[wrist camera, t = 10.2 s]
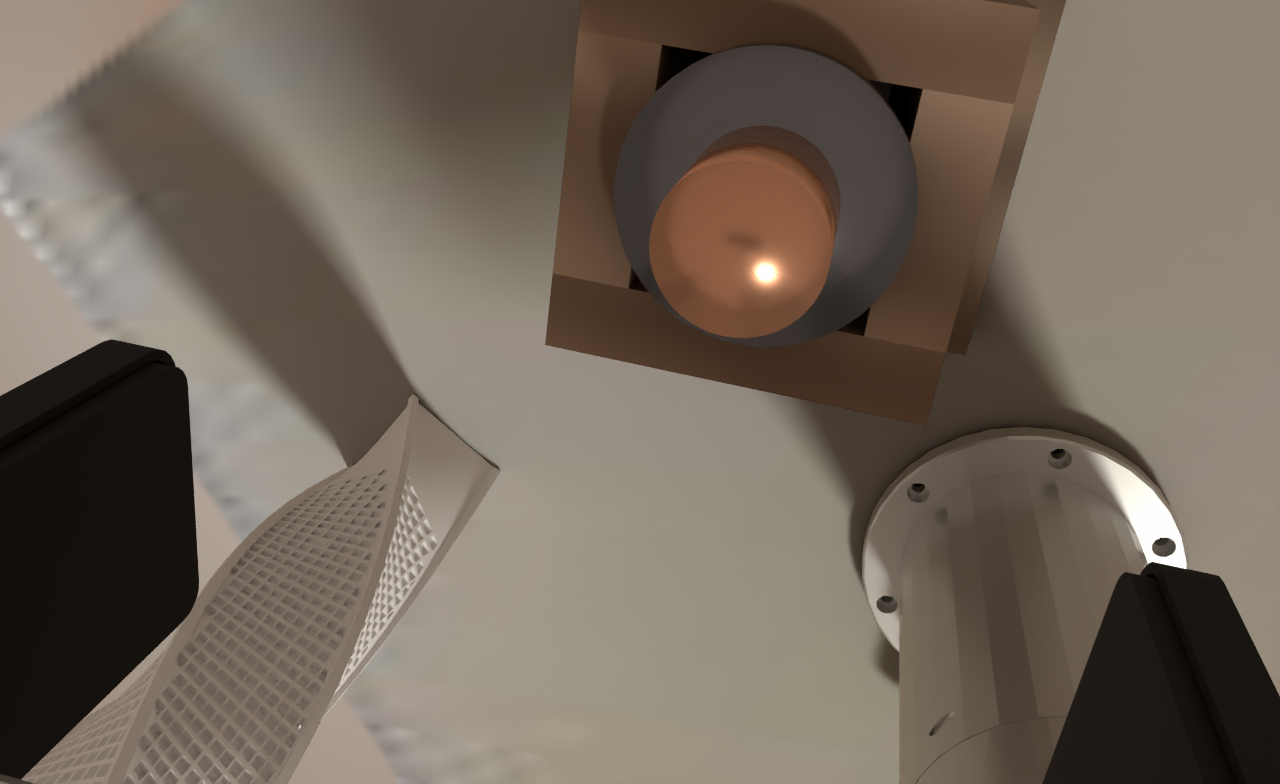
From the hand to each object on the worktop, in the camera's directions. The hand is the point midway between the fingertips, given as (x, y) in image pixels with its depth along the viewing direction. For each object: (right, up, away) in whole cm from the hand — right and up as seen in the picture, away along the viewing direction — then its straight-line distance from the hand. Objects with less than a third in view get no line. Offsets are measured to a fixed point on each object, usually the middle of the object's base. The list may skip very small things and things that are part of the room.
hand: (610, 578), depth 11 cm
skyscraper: (-9, -1, +39) cm, 40 cm away
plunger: (+6, +12, +27) cm, 30 cm away
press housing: (+7, +13, +29) cm, 32 cm away
